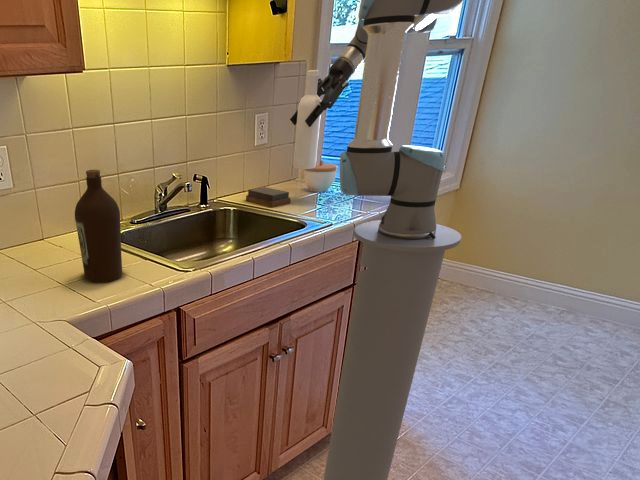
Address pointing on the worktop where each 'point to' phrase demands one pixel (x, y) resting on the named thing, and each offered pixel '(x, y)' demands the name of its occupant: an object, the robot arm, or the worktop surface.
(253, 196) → the sharpening stone
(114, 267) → the olive oil
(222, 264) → the worktop surface
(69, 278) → the worktop surface
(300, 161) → the bottle
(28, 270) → the worktop surface
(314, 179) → the lidded bowl
